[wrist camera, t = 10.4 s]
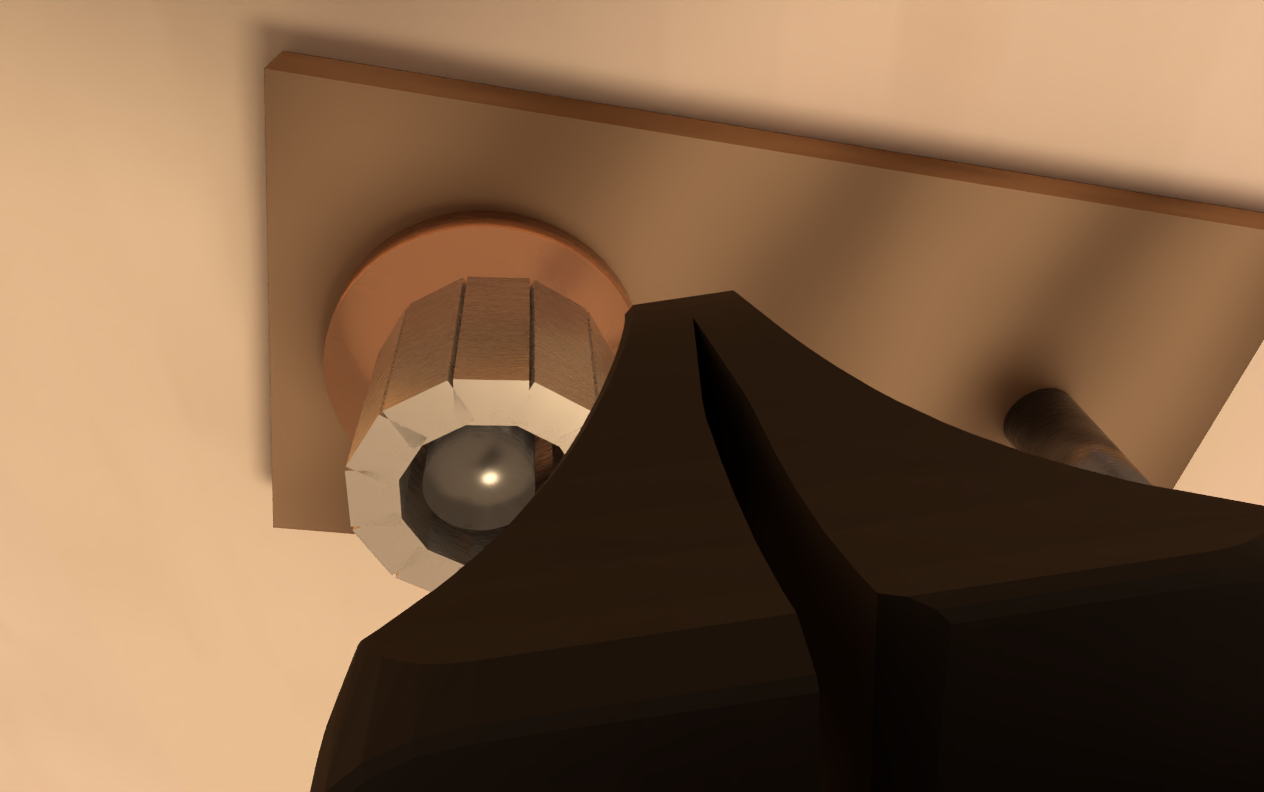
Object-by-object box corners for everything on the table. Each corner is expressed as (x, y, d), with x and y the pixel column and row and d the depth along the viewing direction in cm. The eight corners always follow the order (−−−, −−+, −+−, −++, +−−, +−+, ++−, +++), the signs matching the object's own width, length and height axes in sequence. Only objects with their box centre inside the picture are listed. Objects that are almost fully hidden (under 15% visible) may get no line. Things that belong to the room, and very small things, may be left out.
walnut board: (1279, 215, 22) (1324, 239, 21) (1082, 558, 28) (1108, 594, 27) (282, 50, 18) (264, 68, 17) (287, 489, 24) (273, 527, 23)
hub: (552, 153, 18) (557, 250, 14) (688, 406, 22) (723, 540, 18) (266, 298, 19) (196, 425, 15) (438, 517, 23) (419, 667, 19)
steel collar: (545, 236, 18) (549, 331, 15) (652, 421, 21) (675, 538, 17) (330, 342, 19) (287, 456, 16) (459, 507, 22) (445, 636, 18)
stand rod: (1067, 377, 22) (1162, 476, 19) (1081, 430, 23) (1173, 534, 20) (996, 407, 23) (1077, 510, 19) (1011, 459, 24) (1092, 566, 20)
